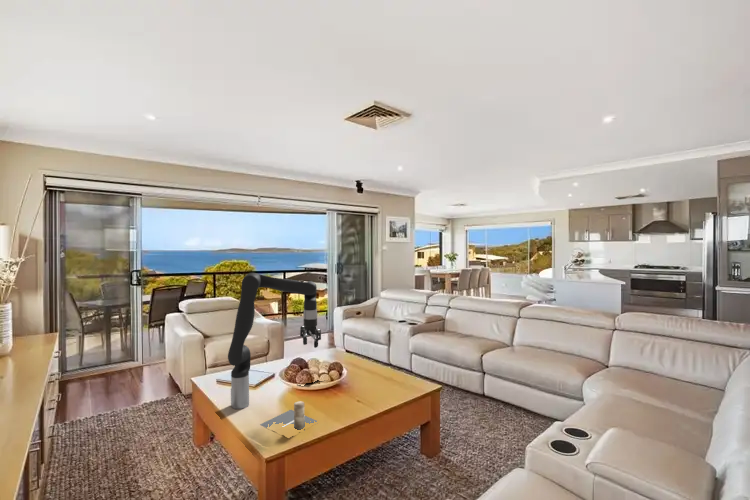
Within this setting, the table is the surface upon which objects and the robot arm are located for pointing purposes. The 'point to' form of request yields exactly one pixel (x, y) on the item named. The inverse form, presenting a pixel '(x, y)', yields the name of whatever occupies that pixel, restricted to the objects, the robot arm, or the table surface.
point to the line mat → (285, 419)
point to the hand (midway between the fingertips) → (310, 346)
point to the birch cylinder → (299, 415)
